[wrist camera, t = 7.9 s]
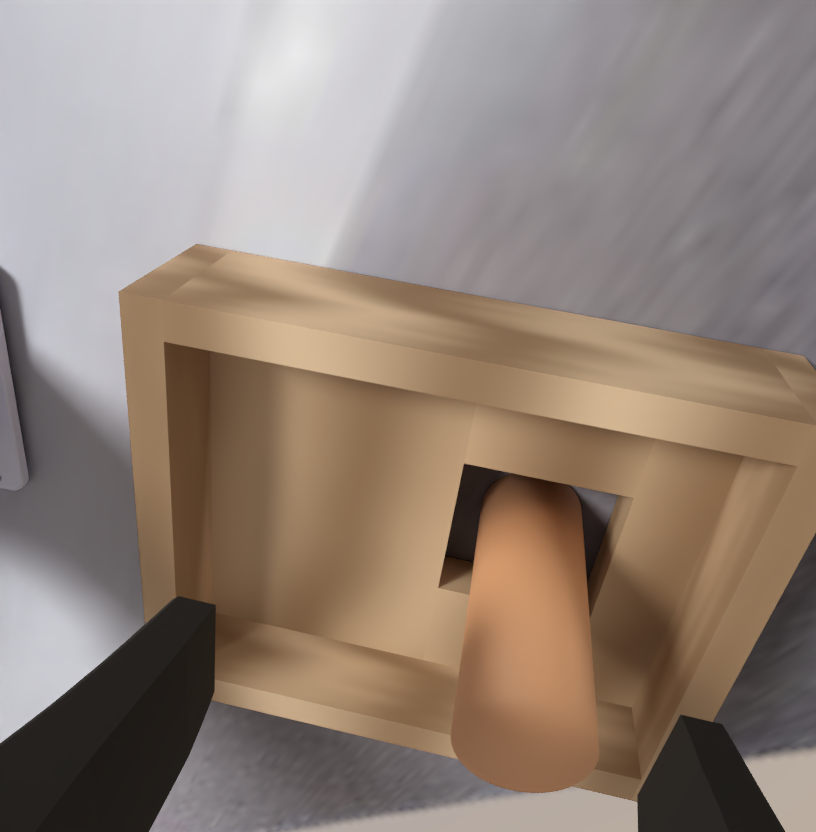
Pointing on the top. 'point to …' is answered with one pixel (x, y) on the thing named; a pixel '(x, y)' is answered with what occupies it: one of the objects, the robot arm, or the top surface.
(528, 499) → the peg
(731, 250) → the top surface
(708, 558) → the box
